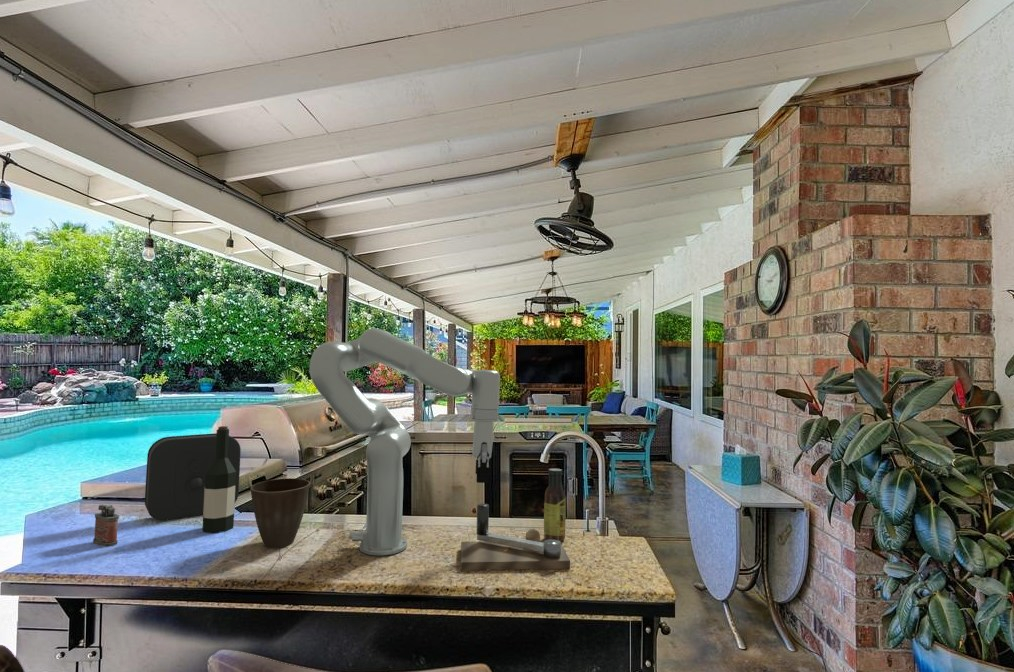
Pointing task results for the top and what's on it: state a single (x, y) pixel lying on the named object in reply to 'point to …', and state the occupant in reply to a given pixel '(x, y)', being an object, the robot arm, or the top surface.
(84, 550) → the top surface
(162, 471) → the speaker
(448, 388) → the robot arm
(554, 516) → the sauce bottle
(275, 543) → the plant pot
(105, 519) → the lighter
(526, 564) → the board
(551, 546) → the lever
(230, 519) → the wine bottle
